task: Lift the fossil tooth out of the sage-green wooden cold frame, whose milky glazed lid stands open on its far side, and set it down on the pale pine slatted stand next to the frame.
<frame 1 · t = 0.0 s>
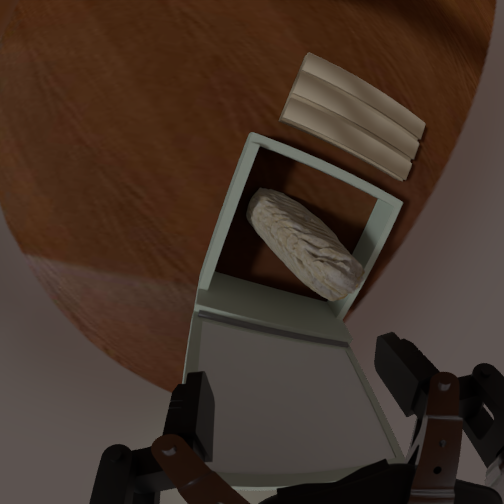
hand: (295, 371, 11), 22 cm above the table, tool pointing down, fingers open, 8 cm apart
cold frame: (297, 232, 33), on the table
slatted stand: (356, 118, 27), on the table
fossil tooth: (296, 231, 33), on the table
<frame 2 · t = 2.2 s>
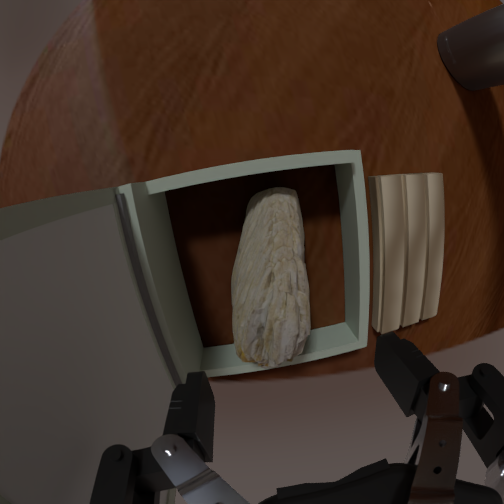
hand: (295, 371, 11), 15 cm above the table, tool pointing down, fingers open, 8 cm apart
cold frame: (264, 263, 26), on the table
slatted stand: (406, 251, 27), on the table
fossil tooth: (265, 261, 26), on the table
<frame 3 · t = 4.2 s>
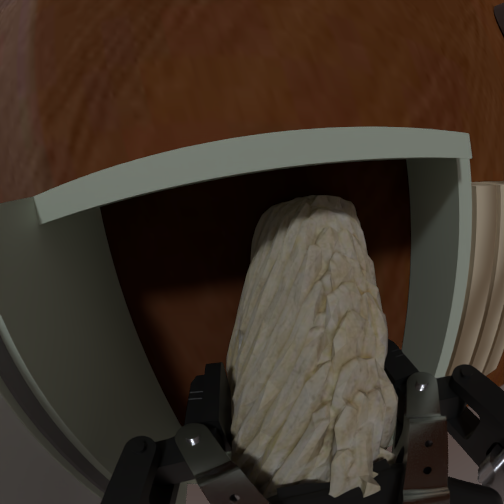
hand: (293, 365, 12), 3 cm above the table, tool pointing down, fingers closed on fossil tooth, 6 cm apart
cold frame: (283, 334, 14), on the table
slatted stand: (480, 293, 15), on the table
fossil tooth: (286, 327, 14), on the table, touching gripper
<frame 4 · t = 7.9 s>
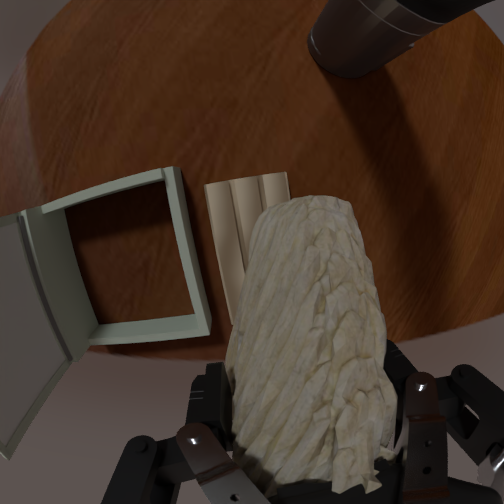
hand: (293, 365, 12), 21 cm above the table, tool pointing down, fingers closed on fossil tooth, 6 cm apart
cold frame: (127, 260, 31), on the table
slatted stand: (256, 249, 32), on the table
fossil tooth: (285, 327, 14), point 18 cm above the table, touching gripper
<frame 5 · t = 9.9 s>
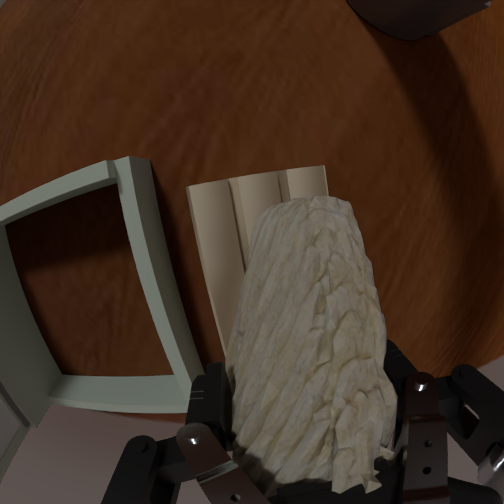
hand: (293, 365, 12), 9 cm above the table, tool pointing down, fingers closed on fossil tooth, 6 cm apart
cold frame: (83, 300, 20), on the table
slatted stand: (272, 289, 20), on the table
fossil tooth: (285, 327, 14), point 6 cm above the table, touching gripper
when the fingers open (6 cm above the table, at t = 11.7 s): fossil tooth stays where it is, resting on slatted stand.
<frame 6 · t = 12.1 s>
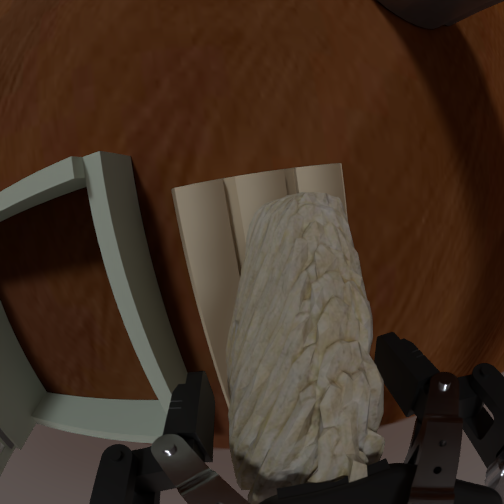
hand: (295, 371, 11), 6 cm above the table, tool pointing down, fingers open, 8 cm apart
cold frame: (62, 317, 16), on the table
slatted stand: (276, 310, 17), on the table
fossil tooth: (282, 319, 15), point 2 cm above the table, touching slatted stand
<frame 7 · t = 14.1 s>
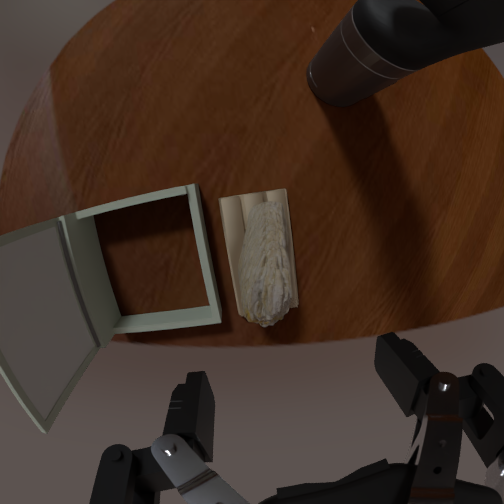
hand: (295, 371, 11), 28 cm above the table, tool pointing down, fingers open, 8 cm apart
cold frame: (150, 260, 38), on the table
slatted stand: (260, 252, 39), on the table
fossil tooth: (262, 253, 37), point 2 cm above the table, touching slatted stand
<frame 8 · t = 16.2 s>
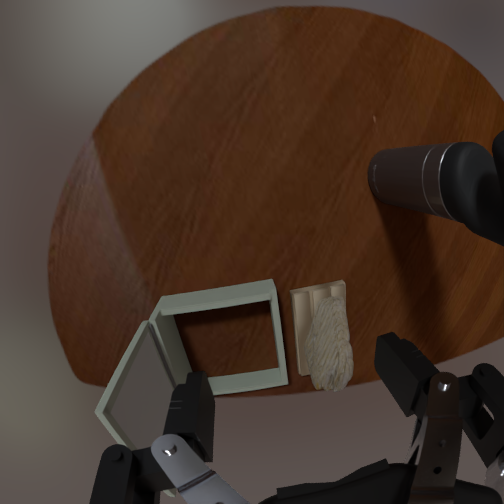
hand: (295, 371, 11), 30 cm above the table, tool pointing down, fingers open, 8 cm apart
cold frame: (227, 338, 45), on the table
slatted stand: (319, 328, 45), on the table
fossil tooth: (322, 332, 43), point 2 cm above the table, touching slatted stand
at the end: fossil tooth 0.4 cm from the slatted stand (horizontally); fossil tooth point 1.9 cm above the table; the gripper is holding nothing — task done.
